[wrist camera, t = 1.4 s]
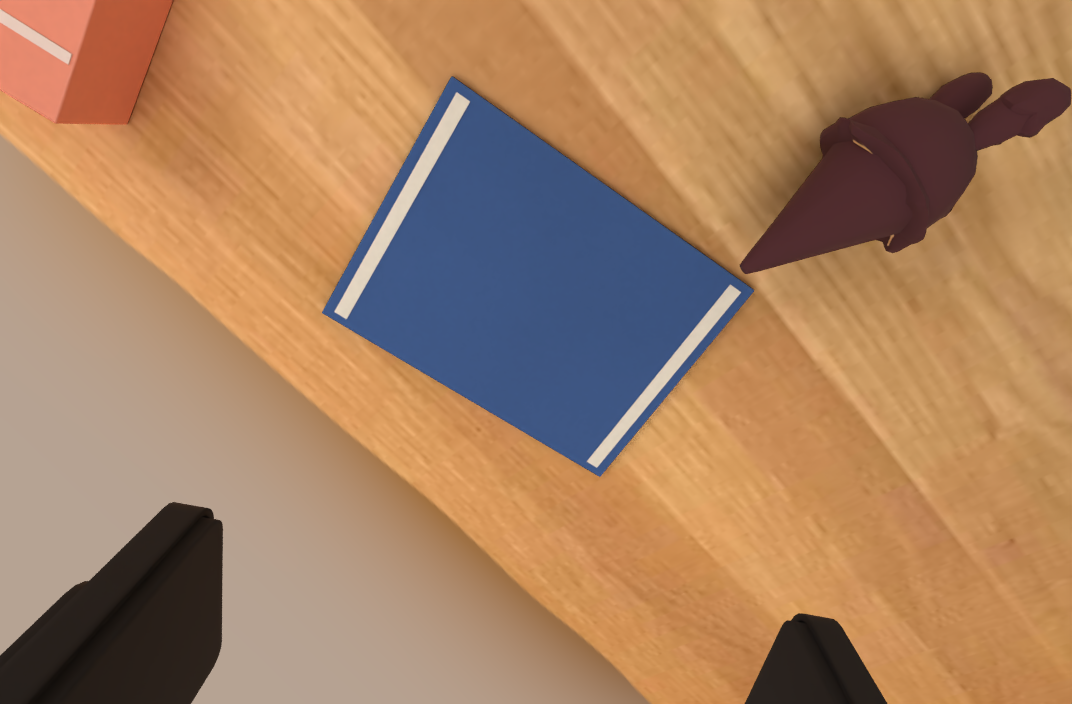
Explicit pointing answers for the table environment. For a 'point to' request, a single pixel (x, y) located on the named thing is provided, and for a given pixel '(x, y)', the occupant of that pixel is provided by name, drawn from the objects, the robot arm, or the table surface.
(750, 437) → the table surface
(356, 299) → the cloth
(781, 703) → the robot arm
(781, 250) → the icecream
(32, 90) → the red rectangular block
